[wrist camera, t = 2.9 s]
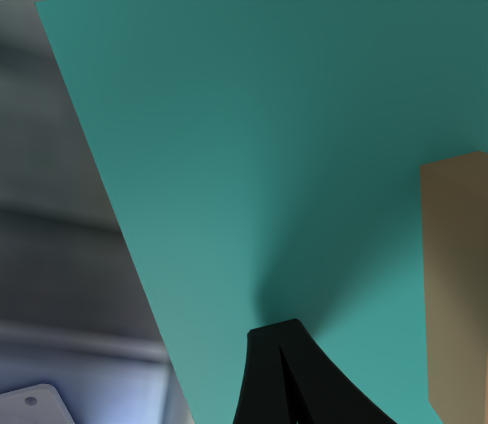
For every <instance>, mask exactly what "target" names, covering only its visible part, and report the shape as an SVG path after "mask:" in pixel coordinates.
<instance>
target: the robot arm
mask: <svg viewBox="0 0 488 424" xmlns="http://www.w3.org/2000/svg"><path fill="white" fill-rule="evenodd" d="M31 397H33V398H31ZM297 422H298V424H397V423H396V422H395V421H394V420H393V419H391V418H390V417H389V416H388V415H387V414H386V413H384V412H383V411H382V410H381V409H380V408H379V407H378V406H377V405H376V404H374V403H373V402H372V401H371V400H370V399H369V398H368V397H367V396H366V395H365V394H364V393H363V392H362V391H361V390H360V389H358V388H357V387H356V386H355V385H354V384H353V383H352V382H351V381H350V380H349V379H348V378H347V377H346V375H345V374H344V373H343V372H342V371H341V370H340V369H339V368H338V367H337V366H336V365H335V364H334V363H333V362H332V361H331V359H330V358H329V357H328V356H327V355H326V354H325V353H324V352H323V350H322V349H321V348H320V347H319V346H318V344H317V343H316V342H315V341H314V339H313V338H312V337H311V335H310V334H309V333H308V331H307V330H306V329H305V327H304V326H303V324H302V322H301V321H300V320H298V319H296V318H294V319H290V320H286V321H282V322H278V323H275V324H271V325H267V326H263V327H259V328H255V329H251V330H250V331H249V332H248V333H247V353H246V362H245V369H244V375H243V380H242V385H241V390H240V395H239V400H238V405H237V409H236V412H235V416H234V420H233V424H297ZM0 424H75V423H74V421H73V419H72V417H71V415H70V414H69V412H68V410H67V408H66V406H65V405H64V403H63V401H62V399H61V397H60V396H59V394H58V392H57V390H56V389H55V388H54V387H53V386H52V385H50V384H39V385H35V386H31V387H27V388H23V389H19V390H15V391H11V392H7V393H3V394H0Z"/></svg>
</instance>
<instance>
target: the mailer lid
mask: <svg viewBox="0 0 488 424" xmlns="http://www.w3.org/2000/svg"><path fill="white" fill-rule="evenodd" d="M35 6H36V9H37V11H38V14H39V17H40V19H41V22H42V24H43V27H44V30H45V32H46V35H47V38H48V40H49V43H50V45H51V48H52V51H53V53H54V56H55V58H56V61H57V64H58V66H59V69H60V72H61V74H62V77H63V79H64V82H65V85H66V87H67V90H68V92H69V95H70V98H71V100H72V103H73V106H74V108H75V111H76V113H77V116H78V119H79V121H80V124H81V127H82V129H83V132H84V134H85V137H86V140H87V142H88V145H89V147H90V150H91V153H92V155H93V158H94V161H95V163H96V166H97V168H98V171H99V174H100V176H101V179H102V182H103V184H104V187H105V189H106V192H107V195H108V197H109V200H110V202H111V205H112V208H113V210H114V213H115V216H116V218H117V221H118V223H119V226H120V229H121V231H122V234H123V236H124V239H125V242H126V244H127V247H128V250H129V252H130V255H131V257H132V260H133V263H134V265H135V268H136V271H137V273H138V276H139V278H140V281H141V284H142V286H143V289H144V291H145V294H146V297H147V299H148V302H149V305H150V307H151V310H152V312H153V315H154V318H155V320H156V323H157V325H158V328H159V331H160V333H161V336H162V339H163V341H164V344H165V346H166V349H167V352H168V354H169V357H170V360H171V362H172V365H173V367H174V370H175V373H176V375H177V378H178V380H179V383H180V386H181V388H182V391H183V394H184V396H185V399H186V401H187V404H188V407H189V409H190V412H191V414H192V417H193V420H194V422H195V424H233V420H234V416H235V412H236V409H237V405H238V400H239V395H240V390H241V385H242V380H243V375H244V369H245V362H246V353H247V333H248V332H249V331H250V330H251V329H255V328H259V327H263V326H267V325H271V324H275V323H278V322H282V321H286V320H290V319H294V318H296V319H298V320H300V321H301V322H302V324H303V326H304V327H305V329H306V330H307V331H308V333H309V334H310V335H311V337H312V338H313V339H314V341H315V342H316V343H317V344H318V346H319V347H320V348H321V349H322V350H323V352H324V353H325V354H326V355H327V356H328V357H329V358H330V359H331V361H332V362H333V363H334V364H335V365H336V366H337V367H338V368H339V369H340V370H341V371H342V372H343V373H344V374H345V375H346V377H347V378H348V379H349V380H350V381H351V382H352V383H353V384H354V385H355V386H356V387H357V388H358V389H360V390H361V391H362V392H363V393H364V394H365V395H366V396H367V397H368V398H369V399H370V400H371V401H372V402H373V403H374V404H376V405H377V406H378V407H379V408H380V409H381V410H382V411H383V412H384V413H386V414H387V415H388V416H389V417H390V418H391V419H393V420H394V421H395V422H396V423H397V424H488V0H44V1H40V2H35ZM297 424H298V422H297Z"/></svg>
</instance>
